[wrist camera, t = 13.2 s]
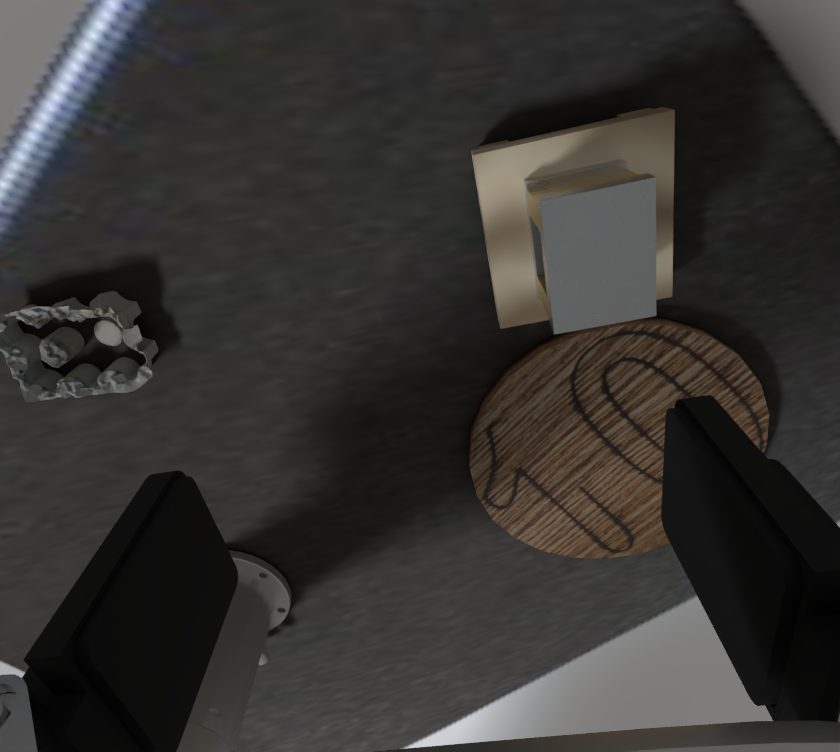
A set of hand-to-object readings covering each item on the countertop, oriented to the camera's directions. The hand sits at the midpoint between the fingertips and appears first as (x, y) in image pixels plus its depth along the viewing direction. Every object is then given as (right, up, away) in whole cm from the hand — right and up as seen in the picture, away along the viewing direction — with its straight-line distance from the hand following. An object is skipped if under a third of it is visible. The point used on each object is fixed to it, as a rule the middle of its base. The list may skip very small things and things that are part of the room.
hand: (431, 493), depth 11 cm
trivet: (+17, -4, +38) cm, 42 cm away
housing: (+10, +12, +25) cm, 30 cm away
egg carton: (-27, +6, +33) cm, 43 cm away
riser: (+10, +13, +28) cm, 32 cm away
